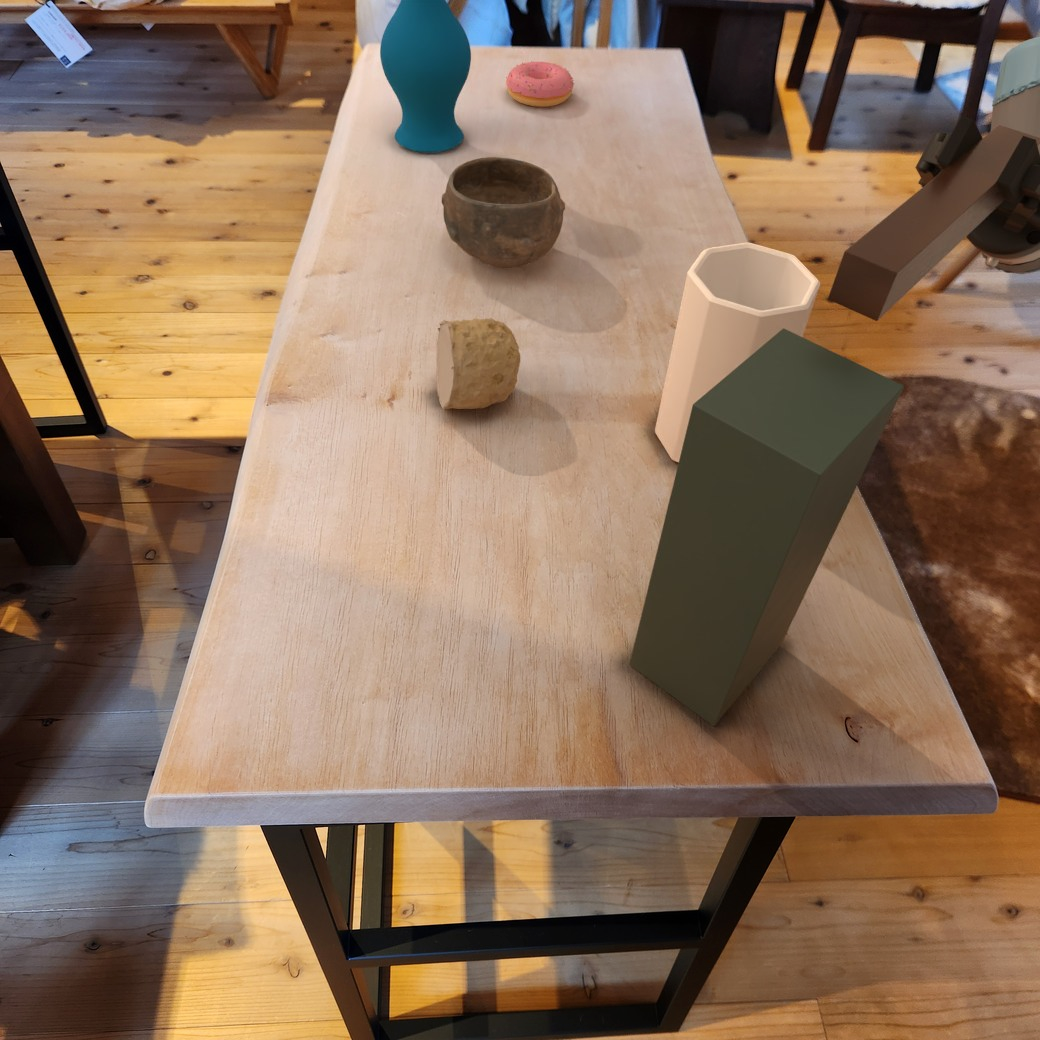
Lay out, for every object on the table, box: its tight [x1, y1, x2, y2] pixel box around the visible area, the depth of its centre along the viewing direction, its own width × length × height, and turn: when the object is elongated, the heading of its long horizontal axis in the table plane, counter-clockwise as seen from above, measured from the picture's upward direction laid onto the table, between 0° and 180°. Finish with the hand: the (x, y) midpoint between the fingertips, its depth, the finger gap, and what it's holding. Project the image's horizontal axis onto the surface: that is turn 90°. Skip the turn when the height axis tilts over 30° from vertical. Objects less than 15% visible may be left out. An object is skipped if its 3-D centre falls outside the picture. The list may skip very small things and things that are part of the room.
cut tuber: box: [436, 317, 521, 410], centre depth 85 cm, size 10×10×10 cm
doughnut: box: [505, 60, 575, 108], centre depth 137 cm, size 11×11×4 cm
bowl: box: [441, 156, 566, 270], centre depth 103 cm, size 14×15×10 cm
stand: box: [628, 328, 905, 727], centre depth 58 cm, size 8×10×27 cm
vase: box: [379, 0, 472, 154], centre depth 117 cm, size 12×13×28 cm
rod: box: [827, 125, 1040, 322], centre depth 51 cm, size 3×22×3 cm, turn 139°
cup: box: [654, 242, 821, 463], centre depth 78 cm, size 11×11×18 cm
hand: (985, 150), depth 51 cm, fingers closed on rod, 3 cm apart
